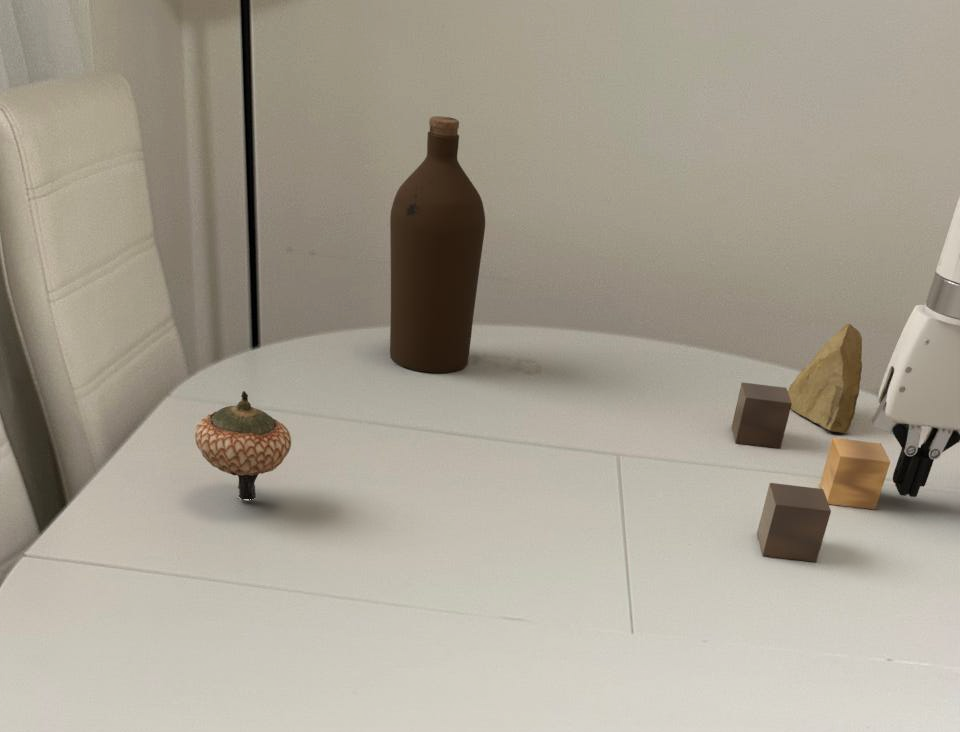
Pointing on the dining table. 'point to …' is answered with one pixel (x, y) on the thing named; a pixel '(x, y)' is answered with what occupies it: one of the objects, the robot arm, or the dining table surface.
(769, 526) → the walnut block
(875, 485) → the maple block
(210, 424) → the acorn
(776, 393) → the walnut block
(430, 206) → the olive oil
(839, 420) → the rock
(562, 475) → the dining table surface
